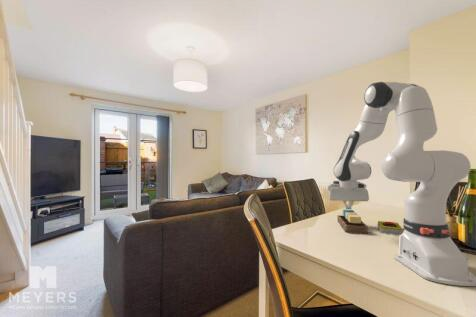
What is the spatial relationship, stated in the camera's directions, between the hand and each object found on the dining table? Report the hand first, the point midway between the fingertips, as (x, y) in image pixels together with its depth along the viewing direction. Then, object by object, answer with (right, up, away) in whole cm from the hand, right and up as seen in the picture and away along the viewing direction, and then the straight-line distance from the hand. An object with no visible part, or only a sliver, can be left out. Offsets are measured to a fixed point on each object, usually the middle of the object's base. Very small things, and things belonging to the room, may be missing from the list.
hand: (348, 208), depth 122 cm
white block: (-1, -5, -6) cm, 8 cm away
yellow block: (-3, -5, -12) cm, 13 cm away
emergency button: (+15, -9, -11) cm, 21 cm away
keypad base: (-1, -8, -6) cm, 10 cm away
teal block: (0, -5, 0) cm, 5 cm away
